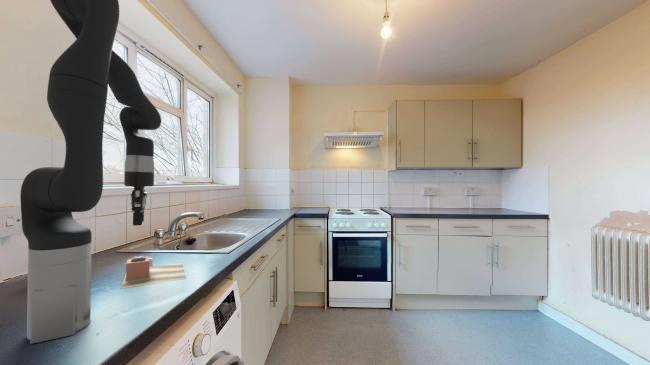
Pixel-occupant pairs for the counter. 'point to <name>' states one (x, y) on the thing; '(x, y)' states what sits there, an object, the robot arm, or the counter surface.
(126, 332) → the counter surface
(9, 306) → the counter surface
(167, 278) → the beige flat rectangular board
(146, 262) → the brown boxy piece
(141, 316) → the counter surface
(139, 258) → the d shaft post
